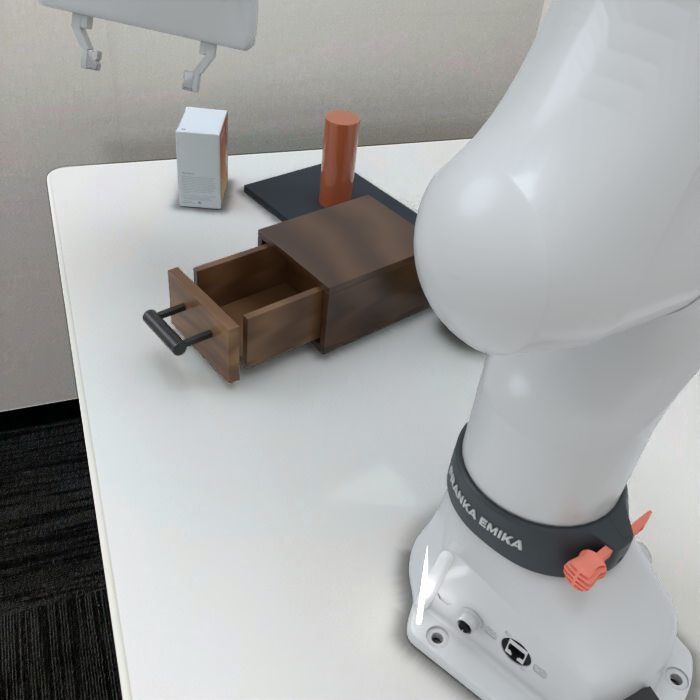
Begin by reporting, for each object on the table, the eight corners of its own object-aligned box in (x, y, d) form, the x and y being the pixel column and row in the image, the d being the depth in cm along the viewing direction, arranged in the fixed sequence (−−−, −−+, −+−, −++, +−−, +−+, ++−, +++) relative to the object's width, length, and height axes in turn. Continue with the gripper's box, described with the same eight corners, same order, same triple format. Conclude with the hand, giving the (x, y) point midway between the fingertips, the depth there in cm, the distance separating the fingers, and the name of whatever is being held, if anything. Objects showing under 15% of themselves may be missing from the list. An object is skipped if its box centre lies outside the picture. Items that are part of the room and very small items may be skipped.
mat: (427, 227, 104) (428, 220, 103) (333, 261, 95) (334, 254, 95) (335, 165, 115) (335, 159, 114) (243, 191, 106) (243, 184, 106)
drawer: (189, 401, 73) (186, 346, 69) (132, 337, 79) (126, 283, 75) (344, 334, 83) (350, 282, 79) (283, 281, 89) (285, 231, 85)
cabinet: (323, 354, 82) (329, 288, 76) (256, 294, 89) (257, 229, 83) (429, 307, 90) (442, 244, 84) (360, 255, 97) (368, 194, 91)
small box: (221, 210, 102) (220, 135, 95) (178, 206, 102) (174, 131, 95) (229, 181, 108) (228, 109, 101) (188, 178, 108) (185, 105, 101)
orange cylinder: (357, 205, 104) (367, 120, 97) (332, 213, 102) (339, 127, 94) (337, 191, 107) (345, 107, 99) (312, 199, 104) (318, 114, 97)
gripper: (28, -116, 65) (17, 55, 70) (269, -57, 68) (243, 104, 73) (50, -102, 71) (38, 56, 76) (270, -48, 74) (247, 101, 78)
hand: (140, 80), depth 74 cm, fingers open, 8 cm apart
